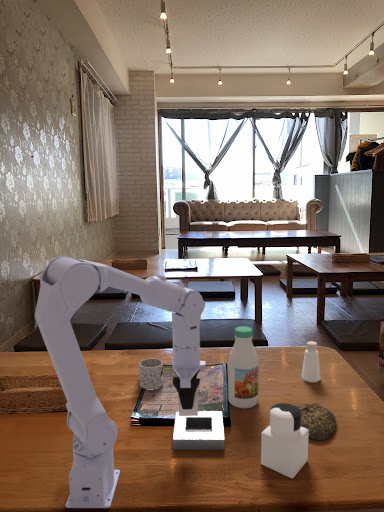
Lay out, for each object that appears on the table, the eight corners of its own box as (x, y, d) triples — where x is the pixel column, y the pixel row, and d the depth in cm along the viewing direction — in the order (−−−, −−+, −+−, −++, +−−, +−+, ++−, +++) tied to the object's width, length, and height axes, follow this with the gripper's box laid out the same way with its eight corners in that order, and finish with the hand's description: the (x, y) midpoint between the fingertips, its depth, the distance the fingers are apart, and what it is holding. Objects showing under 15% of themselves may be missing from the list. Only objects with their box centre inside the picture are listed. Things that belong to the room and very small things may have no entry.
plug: (197, 415, 87) (197, 388, 86) (179, 415, 87) (178, 388, 86) (198, 405, 91) (197, 379, 90) (180, 405, 91) (179, 379, 90)
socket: (224, 449, 88) (224, 439, 87) (173, 449, 88) (172, 439, 88) (221, 420, 98) (221, 411, 98) (176, 421, 99) (176, 411, 98)
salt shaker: (324, 380, 118) (325, 344, 116) (309, 384, 116) (310, 347, 114) (312, 372, 123) (313, 338, 121) (297, 376, 121) (298, 340, 119)
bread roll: (321, 447, 88) (321, 426, 88) (272, 425, 97) (272, 405, 96) (346, 422, 98) (347, 403, 97) (299, 404, 106) (300, 386, 105)
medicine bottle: (276, 447, 88) (277, 395, 86) (308, 460, 84) (310, 406, 82) (260, 464, 83) (260, 410, 81) (292, 480, 78) (294, 422, 76)
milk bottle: (223, 405, 106) (223, 331, 102) (234, 391, 112) (235, 322, 109) (252, 412, 102) (252, 336, 99) (262, 398, 109) (263, 326, 105)
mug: (166, 387, 116) (166, 365, 115) (144, 392, 113) (143, 369, 112) (154, 373, 125) (153, 352, 123) (133, 377, 122) (132, 356, 121)
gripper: (205, 357, 79) (206, 421, 81) (205, 331, 93) (206, 386, 96) (169, 357, 79) (171, 422, 82) (174, 331, 94) (175, 386, 96)
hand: (187, 402), depth 89 cm, fingers closed on plug, 4 cm apart
